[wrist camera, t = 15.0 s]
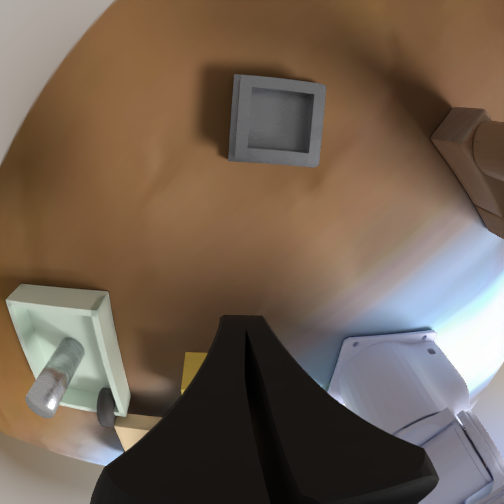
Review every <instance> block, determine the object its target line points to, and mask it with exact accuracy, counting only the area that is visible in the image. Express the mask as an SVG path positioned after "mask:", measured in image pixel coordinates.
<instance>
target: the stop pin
mask: <svg viewBox="0 0 504 504" xmlns="http://www.w3.org/2000/svg"><path fill="white" fill-rule="evenodd" d="M84 355H85V350H84V347H83V346H82V344H81V343H80V342H79V341H78V340H76V339H74V338H71V337H66V338H64V339H63V340H62V341H61V343H60V344H59V346H58V347H57V348H56V350H55V351H54V353H53V354H52V356H51V357H50V359H49V360H48V362H47V364H46V365H45V367H44V368H43V370H42V371H41V373H40V374H39V376H38V378H37V379H36V381H35V382H34V384H33V386H32V387H31V389H30V390H29V392H28V394H27V395H26V403H27V405H28V406H29V408H30V409H31V410H32V411H33V412H35V413H36V414H37V415H39V416H41V417H44V418H52V417H53V416H54V414H55V412H56V410H57V408H58V406H59V404H60V402H61V400H62V398H63V396H64V394H65V392H66V390H67V388H68V386H69V384H70V382H71V380H72V378H73V376H74V374H75V372H76V370H77V368H78V366H79V365H80V363H81V361H82V359H83V357H84Z"/></svg>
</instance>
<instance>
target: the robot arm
mask: <svg viewBox="0 0 504 504" xmlns="http://www.w3.org/2000/svg"><path fill="white" fill-rule="evenodd" d="M435 337H436V332H435V331H434V330H428V331H419V332H410V333H400V334H389V335H377V336H363V337H350V338H347V339H345V340H344V342H343V344H342V348H341V351H340V354H339V358H338V361H337V364H336V367H335V370H334V373H333V376H332V379H331V382H330V385H329V388H328V391H327V392H326V391H325V390H324V389H323V388H321V387H320V386H319V385H318V384H317V383H316V382H315V381H314V380H313V379H312V378H311V377H310V376H309V375H308V374H307V373H306V372H305V371H304V370H303V368H302V367H301V366H300V365H299V364H298V363H297V362H296V361H295V359H294V358H293V357H292V356H291V355H290V353H289V352H288V351H287V350H286V348H285V347H284V346H283V344H282V343H281V342H280V340H279V339H278V338H277V336H276V335H275V333H274V332H273V330H272V329H271V327H270V326H269V324H268V323H267V321H266V320H265V318H264V317H263V316H248V315H223V316H222V317H221V318H220V323H219V327H218V330H217V333H216V336H215V338H214V341H213V343H212V345H211V347H210V349H209V351H208V354H207V356H206V358H205V359H204V361H203V363H202V365H201V366H200V368H199V370H198V371H197V373H196V375H195V376H194V378H193V380H192V381H191V383H190V384H189V385H188V387H187V388H186V390H185V391H184V392H183V394H182V395H181V396H180V398H179V399H178V400H177V401H176V403H175V404H174V405H173V406H172V407H171V409H170V410H169V411H168V412H167V413H166V414H165V415H164V417H163V418H162V419H161V420H160V421H159V422H158V423H157V424H156V425H155V426H154V427H153V428H152V429H151V430H150V431H148V432H147V433H146V434H145V435H144V436H143V437H142V438H141V439H140V440H139V441H138V442H137V443H135V444H134V445H133V446H132V447H131V448H129V449H128V450H127V451H125V452H124V453H123V454H121V455H120V456H119V457H118V458H116V459H115V460H114V461H112V462H111V463H110V464H108V465H107V466H105V467H104V469H103V471H102V473H101V475H100V477H99V479H98V481H97V483H96V486H95V489H94V491H93V494H92V497H91V502H90V504H504V460H503V458H502V456H501V455H500V453H499V451H498V450H497V448H496V446H495V444H494V443H493V441H492V439H491V438H490V436H489V435H488V433H487V432H486V430H485V429H484V427H483V425H482V424H481V422H480V421H479V420H478V418H477V417H476V415H475V414H474V413H473V412H472V411H469V407H470V397H469V391H468V388H467V385H466V383H465V381H464V379H463V378H462V377H461V375H460V374H459V373H458V371H457V370H456V369H455V367H454V366H453V365H452V364H451V362H450V361H449V360H448V358H447V357H446V356H445V355H444V353H443V352H442V351H441V350H440V348H439V347H438V346H437V345H436V343H435V342H434V340H435ZM355 342H356V343H355ZM354 343H355V344H354ZM342 404H345V406H346V407H345V406H344V405H342ZM462 426H463V427H462ZM464 429H465V430H464ZM467 434H468V435H467ZM485 464H486V465H485Z"/></svg>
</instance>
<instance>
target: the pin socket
mask: <svg viewBox="0 0 504 504" xmlns="http://www.w3.org/2000/svg"><path fill="white" fill-rule="evenodd" d="M325 95H326V85H323V84H319V83H312V82H306V81H299V80H291V79H283V78H274V77H265V76H253V75H239V74H234V82H233V95H232V108H231V122H230V137H229V152H228V161H236V162H254V163H269V164H282V165H293V166H304V167H314V168H315V165H316V166H319V158H320V149H321V139H322V129H323V118H324V107H325Z"/></svg>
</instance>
